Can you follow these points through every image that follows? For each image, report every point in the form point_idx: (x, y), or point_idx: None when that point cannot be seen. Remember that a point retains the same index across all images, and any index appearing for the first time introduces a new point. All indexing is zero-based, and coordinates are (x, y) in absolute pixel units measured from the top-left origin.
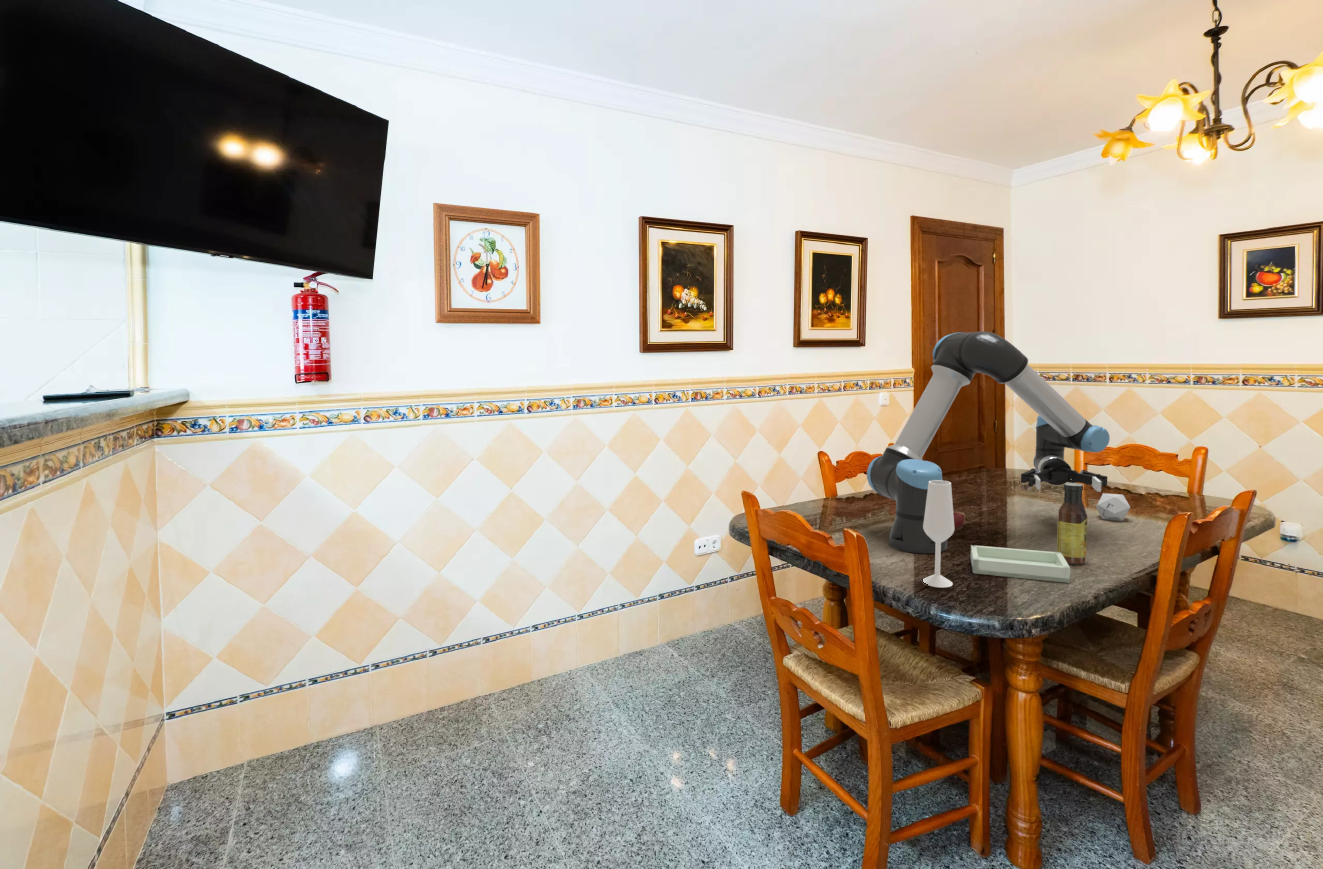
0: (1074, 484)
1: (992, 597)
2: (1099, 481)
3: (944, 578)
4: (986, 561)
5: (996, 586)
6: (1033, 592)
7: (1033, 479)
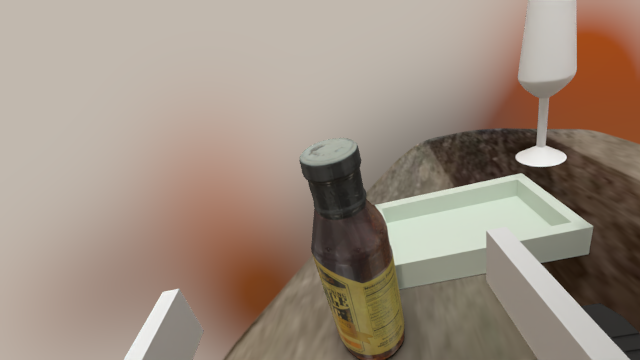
0: (325, 148)
1: (455, 158)
2: (167, 295)
3: (529, 151)
4: (499, 179)
5: (464, 178)
6: (416, 184)
7: (582, 307)
